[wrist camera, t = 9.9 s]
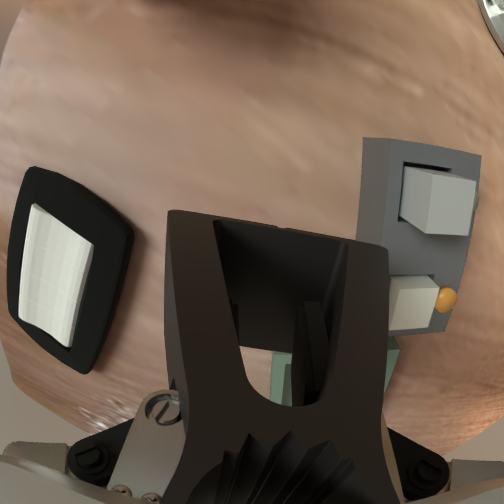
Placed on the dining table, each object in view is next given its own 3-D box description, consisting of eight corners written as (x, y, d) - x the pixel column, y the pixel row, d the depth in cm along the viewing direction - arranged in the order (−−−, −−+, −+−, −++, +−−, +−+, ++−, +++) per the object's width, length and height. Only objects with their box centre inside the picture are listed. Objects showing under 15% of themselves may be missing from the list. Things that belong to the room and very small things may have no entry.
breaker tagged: (417, 265, 20) (439, 287, 16) (409, 301, 21) (427, 327, 18) (381, 265, 20) (399, 288, 17) (374, 303, 21) (389, 330, 18)
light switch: (16, 154, 19) (136, 233, 20) (38, 152, 22) (153, 223, 22) (-1, 317, 26) (86, 390, 26) (13, 307, 28) (98, 375, 29)
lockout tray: (391, 333, 25) (400, 349, 23) (360, 425, 30) (363, 440, 28) (272, 336, 26) (273, 354, 23) (267, 429, 31) (267, 446, 28)
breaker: (443, 171, 16) (476, 181, 12) (438, 217, 17) (467, 235, 13) (403, 165, 16) (432, 174, 12) (399, 215, 17) (425, 233, 14)
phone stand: (166, 326, 14) (65, 558, 3) (171, 207, 12) (-71, 475, 1) (344, 355, 14) (384, 592, 3) (385, 246, 12) (549, 523, 1)
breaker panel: (443, 149, 19) (486, 156, 14) (419, 299, 24) (447, 335, 19) (363, 137, 19) (394, 138, 14) (347, 301, 24) (365, 343, 19)
